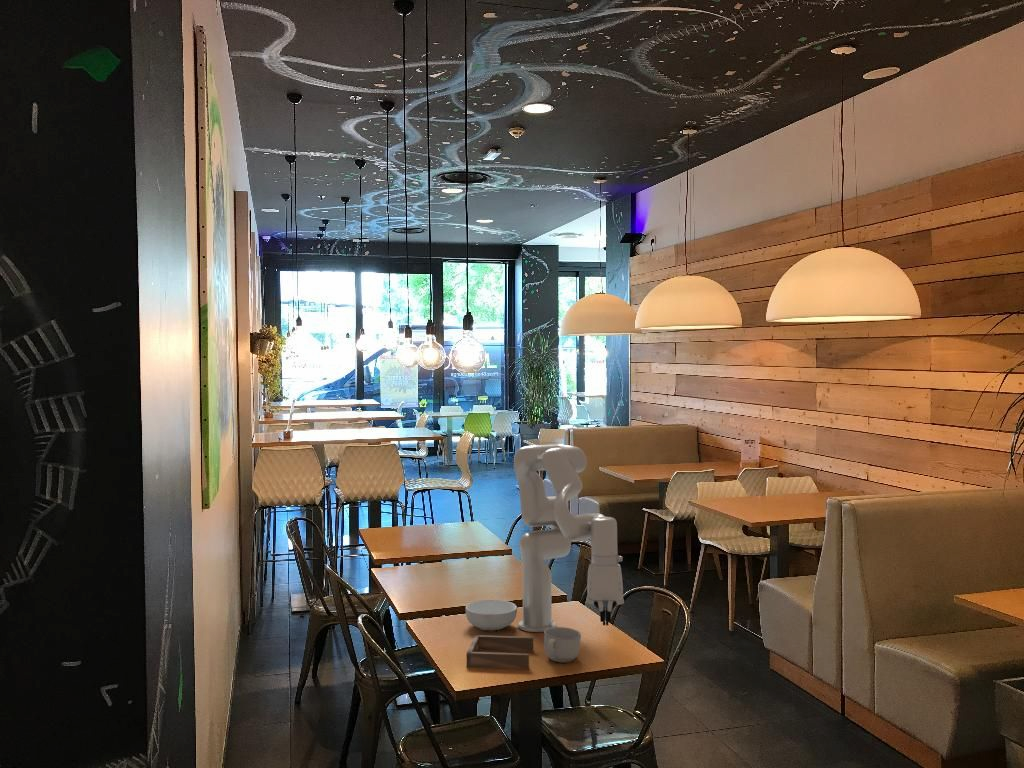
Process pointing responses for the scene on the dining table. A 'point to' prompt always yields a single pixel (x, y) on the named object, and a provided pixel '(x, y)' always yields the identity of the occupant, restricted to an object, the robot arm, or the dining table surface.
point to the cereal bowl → (491, 614)
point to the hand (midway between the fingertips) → (605, 624)
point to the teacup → (562, 643)
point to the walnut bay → (499, 659)
